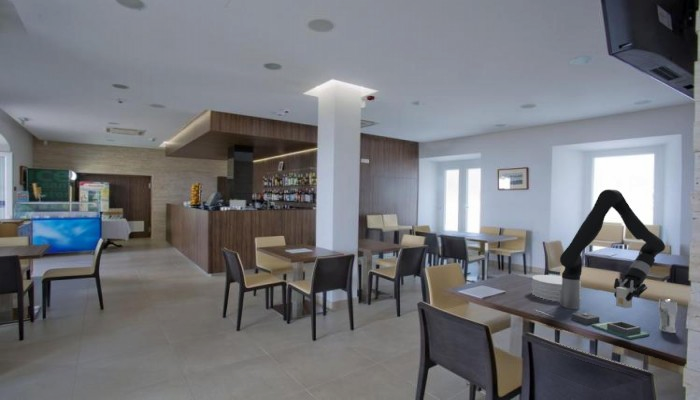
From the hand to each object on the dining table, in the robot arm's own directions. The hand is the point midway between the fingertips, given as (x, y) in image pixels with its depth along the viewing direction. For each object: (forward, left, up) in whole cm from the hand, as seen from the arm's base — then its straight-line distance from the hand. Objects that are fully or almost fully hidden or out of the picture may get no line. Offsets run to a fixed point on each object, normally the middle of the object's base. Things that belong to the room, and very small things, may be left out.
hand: (621, 298), depth 174 cm
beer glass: (+6, +25, -17) cm, 31 cm away
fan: (-18, 0, -17) cm, 25 cm away
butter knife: (-28, -10, -17) cm, 34 cm away
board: (-2, +2, -17) cm, 17 cm away
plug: (0, +2, -4) cm, 5 cm away
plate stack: (-58, +27, -17) cm, 66 cm away
